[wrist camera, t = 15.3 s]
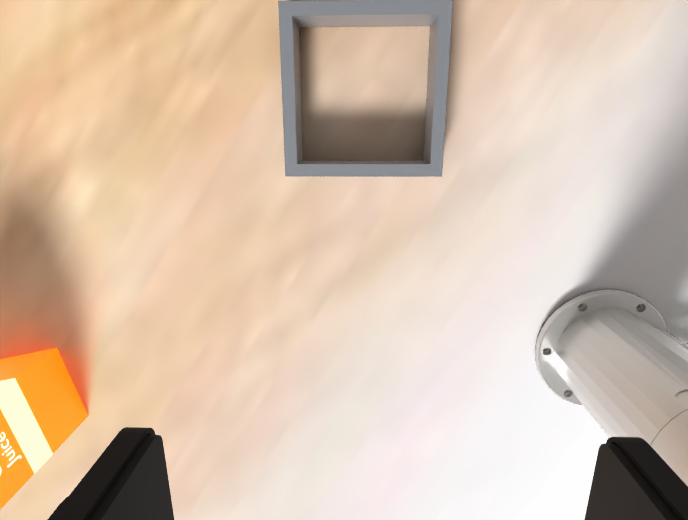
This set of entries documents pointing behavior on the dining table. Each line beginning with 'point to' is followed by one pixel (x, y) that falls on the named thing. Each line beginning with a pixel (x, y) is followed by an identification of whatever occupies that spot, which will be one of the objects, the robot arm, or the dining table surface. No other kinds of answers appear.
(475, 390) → the dining table surface
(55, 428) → the orange juice
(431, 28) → the bin
